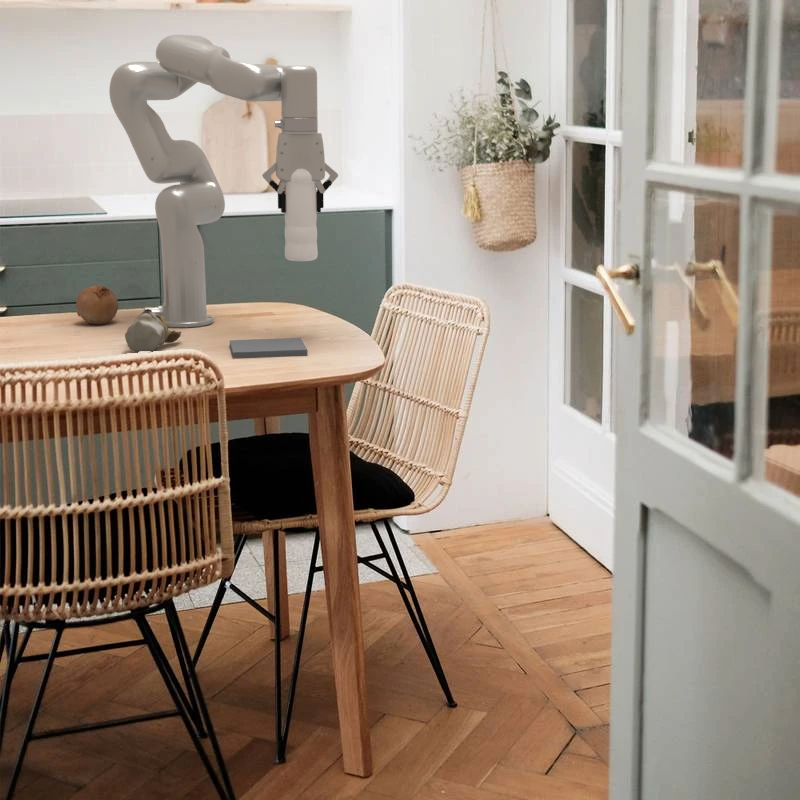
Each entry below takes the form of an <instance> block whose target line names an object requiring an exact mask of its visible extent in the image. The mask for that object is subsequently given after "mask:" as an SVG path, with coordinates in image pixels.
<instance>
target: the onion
mask: <svg viewBox="0 0 800 800" xmlns="http://www.w3.org/2000/svg"><path fill="white" fill-rule="evenodd" d="M118 301H119V300H118V298H117V296H116V295H115V293H114V292H113V291H112V290H110V289H109V288H107V287H105V286H104V285H101V284H100V285H91V286H88V287H86V288H84V289H83V290H82V291H81V292H79V294H78V296H77V299H76V303H75V305H76V310H77V311H76V314H77V316H78V317H79V318H81V319H82V320H84V321H85V322H86V323H88V325H105V324H108V323H109V322H110V323H111V322H112V321H113V319H114V318H115V317H116V316H117V313H118V309H119V302H118Z"/></svg>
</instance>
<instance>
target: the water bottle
mask: <svg viewBox="0 0 800 800" xmlns="http://www.w3.org/2000/svg"><path fill="white" fill-rule="evenodd" d="M284 194H285V204H286V212H285V213H283V214H284V215H283V216H284V225H285V226H284V240H285V241H284V242H285V243H284V258H285V259H286V260H287V261H291V262H312V261H315V260H316V259H318V256H319V255H318V254H319V253H318V251H319V250H318V228H317V220H318V212H317V187H316V184H315V181H312V176H311V174H310V173H309V172H308V171H307V170H306V169H298V170H296V171H295V172H294V173H293V174H292V176H291V181H290V182H287V184H286V186H285V188H284Z"/></svg>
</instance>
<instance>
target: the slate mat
mask: <svg viewBox="0 0 800 800" xmlns="http://www.w3.org/2000/svg"><path fill="white" fill-rule="evenodd" d="M229 349H230V352H231V355H232V358H233V359H245V358H246V359H248V358H249V359H251V358H275V357H277V358H278V357H301V356H308V348H307V346H306V344H305V343H304V341H303V340H302V337H280V338H279V337H278V338H254V339H253V338H252V339H251V338H250V339H230V340H229Z"/></svg>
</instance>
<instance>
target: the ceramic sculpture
mask: <svg viewBox="0 0 800 800" xmlns="http://www.w3.org/2000/svg"><path fill="white" fill-rule="evenodd" d="M181 334H182V331H176V330H169V327H167V325H166V322H165V320H164V318H163V316H160V315H158V314H154V313H153V312H152V311H151V310H150V309H146V310H145V309H144V310H143V311H141V312H140V313H139V314H138V316H137V318H136V319H135V320H134V322H132V323H131V324H130V325H129V326H128V327H127V330H126V332H125V333H124V337H125V341H126V342H125V343H126V344H127V346H128V348H129V350H131V351H133V352H135V353H138V352H139V351H153V352H154V351H155V350H156V349H158V347H160V346H161V345H163V344H165V343H166V344H171V343H172V344H173V343H174V342H176V341H178V340H179V338H180V337H181Z"/></svg>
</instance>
